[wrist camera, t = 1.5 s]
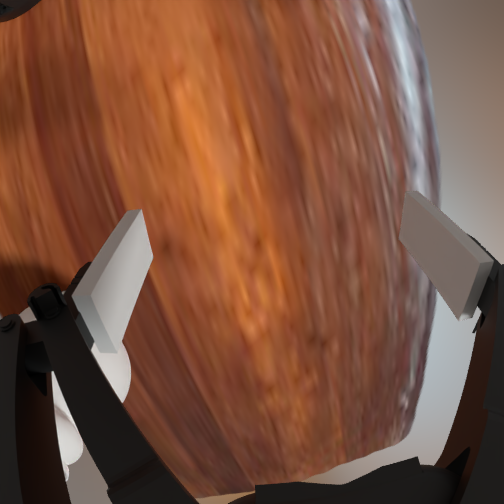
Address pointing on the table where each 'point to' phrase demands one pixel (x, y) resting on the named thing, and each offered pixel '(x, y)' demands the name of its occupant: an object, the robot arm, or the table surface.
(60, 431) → the decorative vase
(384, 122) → the table surface
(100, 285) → the robot arm
